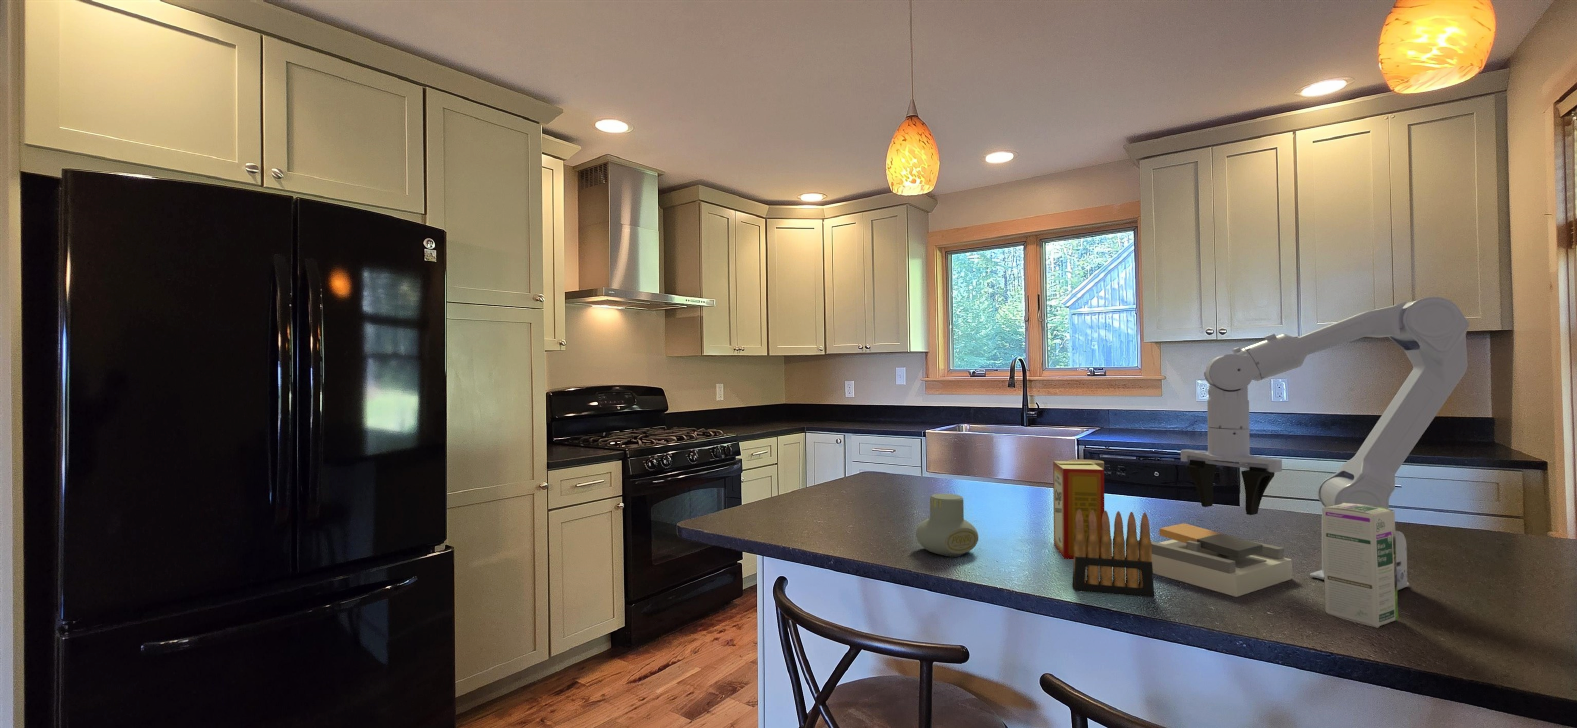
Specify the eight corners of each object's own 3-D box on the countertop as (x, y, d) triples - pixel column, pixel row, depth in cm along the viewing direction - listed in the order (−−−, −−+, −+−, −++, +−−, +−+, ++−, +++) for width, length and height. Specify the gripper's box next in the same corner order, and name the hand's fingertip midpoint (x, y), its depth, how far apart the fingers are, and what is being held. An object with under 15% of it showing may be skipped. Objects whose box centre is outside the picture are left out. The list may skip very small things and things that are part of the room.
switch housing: (1292, 578, 101) (1291, 543, 101) (1236, 596, 93) (1236, 558, 93) (1186, 553, 115) (1186, 522, 115) (1131, 566, 107) (1130, 533, 107)
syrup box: (1378, 628, 81) (1377, 513, 81) (1322, 613, 87) (1321, 504, 87) (1399, 620, 84) (1397, 508, 84) (1343, 605, 89) (1342, 500, 89)
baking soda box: (1104, 561, 110) (1104, 467, 110) (1064, 558, 112) (1063, 466, 112) (1091, 546, 120) (1090, 459, 120) (1053, 544, 121) (1053, 458, 121)
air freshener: (956, 542, 122) (956, 489, 123) (986, 554, 115) (986, 497, 115) (908, 549, 118) (908, 494, 118) (936, 561, 111) (935, 503, 111)
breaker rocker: (1262, 552, 100) (1262, 544, 100) (1237, 558, 97) (1238, 550, 97) (1183, 529, 111) (1184, 523, 111) (1159, 535, 107) (1159, 528, 107)
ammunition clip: (1151, 593, 95) (1150, 511, 95) (1154, 597, 93) (1153, 514, 93) (1072, 586, 98) (1071, 507, 98) (1074, 590, 96) (1073, 509, 96)
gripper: (1170, 425, 111) (1170, 504, 111) (1265, 432, 99) (1266, 521, 98) (1193, 423, 115) (1194, 500, 115) (1288, 430, 102) (1289, 516, 102)
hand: (1228, 509), depth 107 cm, fingers open, 6 cm apart
